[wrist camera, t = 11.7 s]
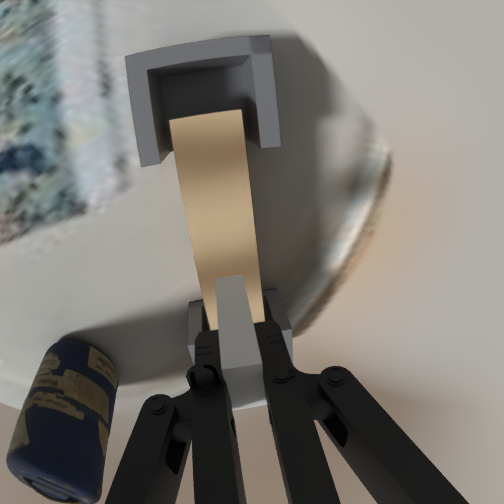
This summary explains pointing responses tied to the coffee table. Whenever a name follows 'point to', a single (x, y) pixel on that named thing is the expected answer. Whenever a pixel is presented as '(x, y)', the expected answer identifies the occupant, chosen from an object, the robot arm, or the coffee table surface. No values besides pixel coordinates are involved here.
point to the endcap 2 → (271, 312)
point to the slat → (218, 203)
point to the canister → (66, 425)
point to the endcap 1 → (202, 90)
